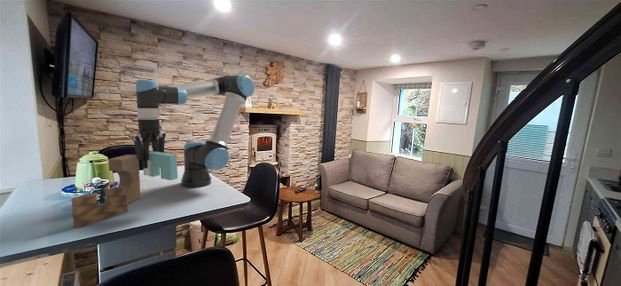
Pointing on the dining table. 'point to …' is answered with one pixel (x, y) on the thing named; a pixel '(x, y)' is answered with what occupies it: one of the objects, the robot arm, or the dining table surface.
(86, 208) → the walnut board
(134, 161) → the decorative block
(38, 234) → the dining table surface
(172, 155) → the teal board
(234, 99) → the robot arm
